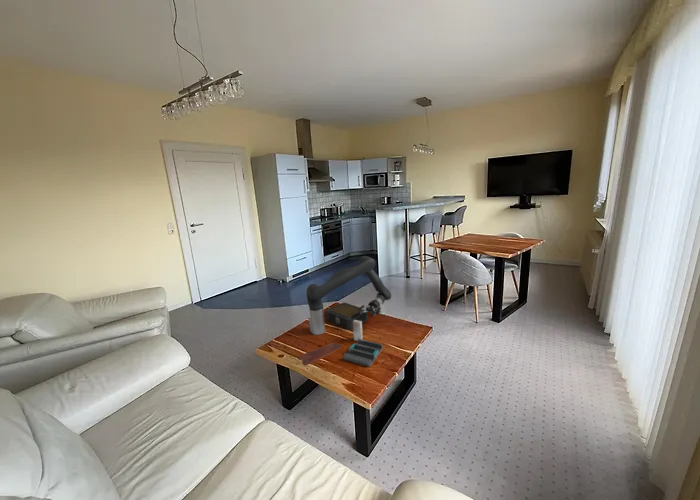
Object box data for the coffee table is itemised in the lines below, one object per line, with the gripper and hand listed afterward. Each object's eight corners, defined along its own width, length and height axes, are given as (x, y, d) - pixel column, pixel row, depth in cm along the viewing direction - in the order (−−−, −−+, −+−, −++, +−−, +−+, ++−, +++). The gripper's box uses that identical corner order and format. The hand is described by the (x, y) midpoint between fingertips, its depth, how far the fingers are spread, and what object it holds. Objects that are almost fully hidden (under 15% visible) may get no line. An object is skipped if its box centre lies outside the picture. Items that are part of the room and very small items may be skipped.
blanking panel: (354, 340, 181) (352, 321, 178) (355, 338, 183) (354, 319, 180) (361, 341, 178) (360, 322, 175) (362, 339, 180) (361, 321, 178)
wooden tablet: (305, 367, 158) (305, 364, 158) (297, 359, 166) (297, 356, 165) (344, 348, 173) (344, 346, 173) (335, 342, 181) (335, 339, 181)
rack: (344, 359, 161) (344, 354, 161) (358, 343, 177) (358, 338, 176) (370, 366, 154) (369, 361, 153) (382, 349, 169) (382, 344, 168)
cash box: (325, 320, 210) (324, 310, 208) (344, 310, 224) (344, 301, 222) (350, 331, 193) (349, 320, 191) (369, 319, 207) (368, 309, 205)
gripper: (365, 298, 204) (355, 307, 190) (384, 300, 197) (375, 310, 183) (366, 307, 205) (356, 317, 192) (385, 310, 198) (375, 321, 185)
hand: (365, 314), depth 187 cm, fingers open, 8 cm apart
